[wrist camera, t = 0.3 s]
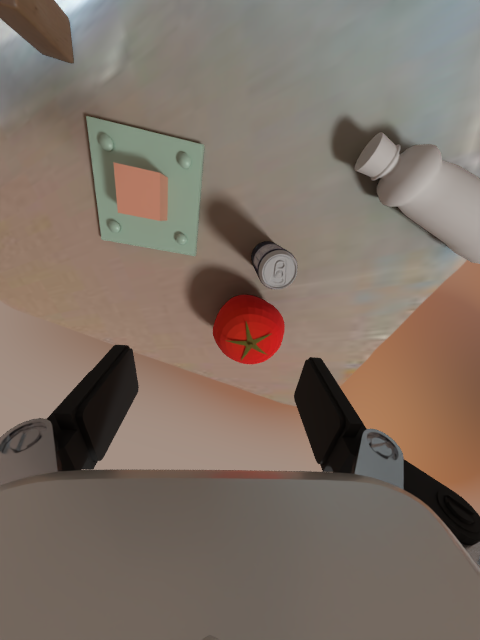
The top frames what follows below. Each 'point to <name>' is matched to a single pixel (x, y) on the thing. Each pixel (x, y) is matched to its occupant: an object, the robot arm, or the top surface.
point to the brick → (141, 192)
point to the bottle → (427, 191)
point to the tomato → (248, 329)
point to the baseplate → (155, 155)
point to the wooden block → (40, 26)
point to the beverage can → (274, 265)
